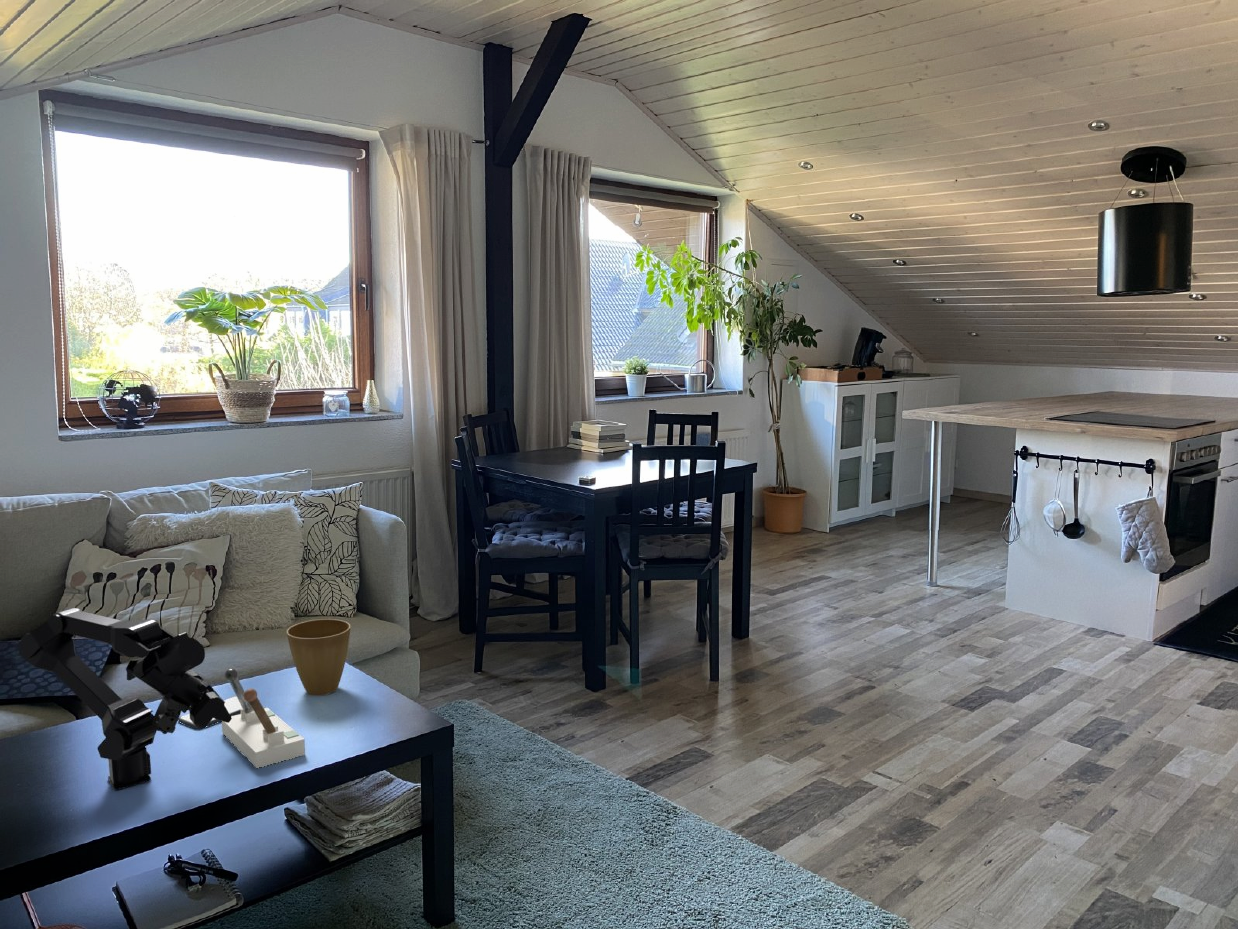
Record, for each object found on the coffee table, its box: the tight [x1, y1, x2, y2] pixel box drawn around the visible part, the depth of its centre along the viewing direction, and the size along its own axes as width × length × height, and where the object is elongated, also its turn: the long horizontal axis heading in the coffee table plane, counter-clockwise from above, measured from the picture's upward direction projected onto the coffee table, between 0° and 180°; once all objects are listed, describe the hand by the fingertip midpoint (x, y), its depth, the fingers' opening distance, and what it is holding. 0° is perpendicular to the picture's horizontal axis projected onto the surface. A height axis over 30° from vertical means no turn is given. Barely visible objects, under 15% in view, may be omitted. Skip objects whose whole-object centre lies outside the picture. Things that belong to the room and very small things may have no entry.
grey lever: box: [224, 668, 253, 713], centre depth 205 cm, size 3×3×12 cm
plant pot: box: [286, 618, 351, 697], centre depth 232 cm, size 15×15×16 cm
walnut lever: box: [244, 688, 276, 734], centre depth 195 cm, size 3×3×12 cm
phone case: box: [177, 695, 243, 730], centre depth 219 cm, size 9×2×16 cm
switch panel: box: [221, 707, 306, 769], centre depth 202 cm, size 10×22×6 cm, turn 39°
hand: (229, 720), depth 190 cm, fingers closed
